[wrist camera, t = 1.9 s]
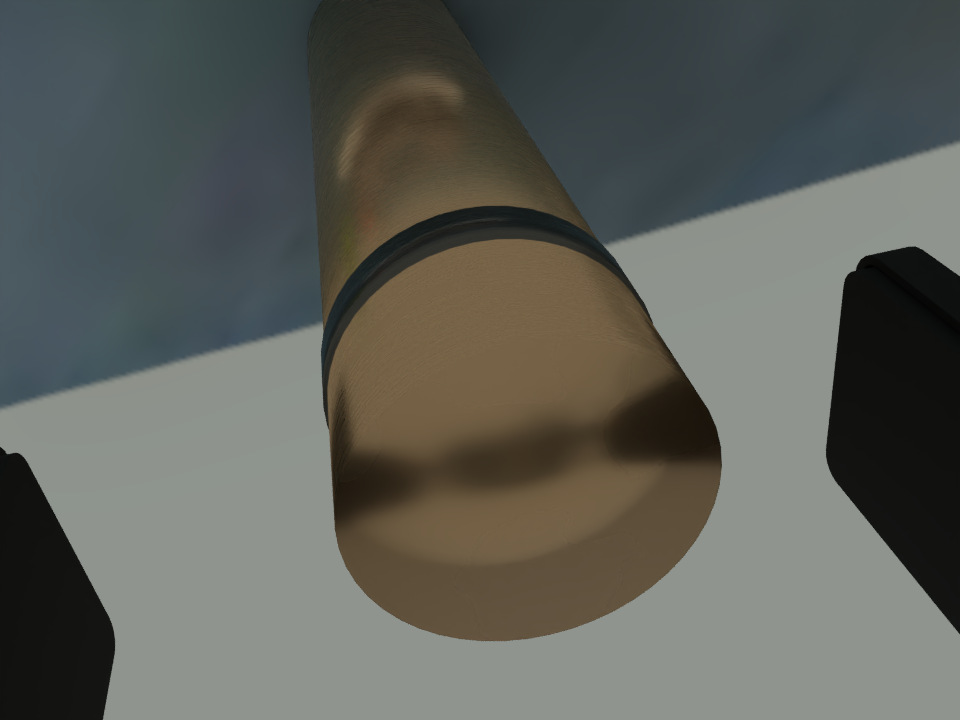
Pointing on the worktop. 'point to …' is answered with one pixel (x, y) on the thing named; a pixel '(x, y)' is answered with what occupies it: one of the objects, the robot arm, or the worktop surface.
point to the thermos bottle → (482, 352)
